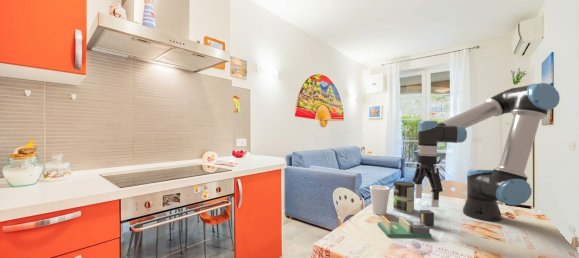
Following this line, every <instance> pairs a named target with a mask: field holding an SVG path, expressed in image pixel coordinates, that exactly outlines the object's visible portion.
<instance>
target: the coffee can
mask: <svg viewBox="0 0 579 258" xmlns="http://www.w3.org/2000/svg"><path fill="white" fill-rule="evenodd" d="M392 183H393V207H392V208H393V210H394V211H397V212H401V213H407V214H408V213H411V214H412V213H413V212H415V186H416V184H415V182H414V183H413V182H412V181H411V182H410V181H404V180H403V181H401V180H398V181H397V180H396V181H393V182H392Z"/></svg>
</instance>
